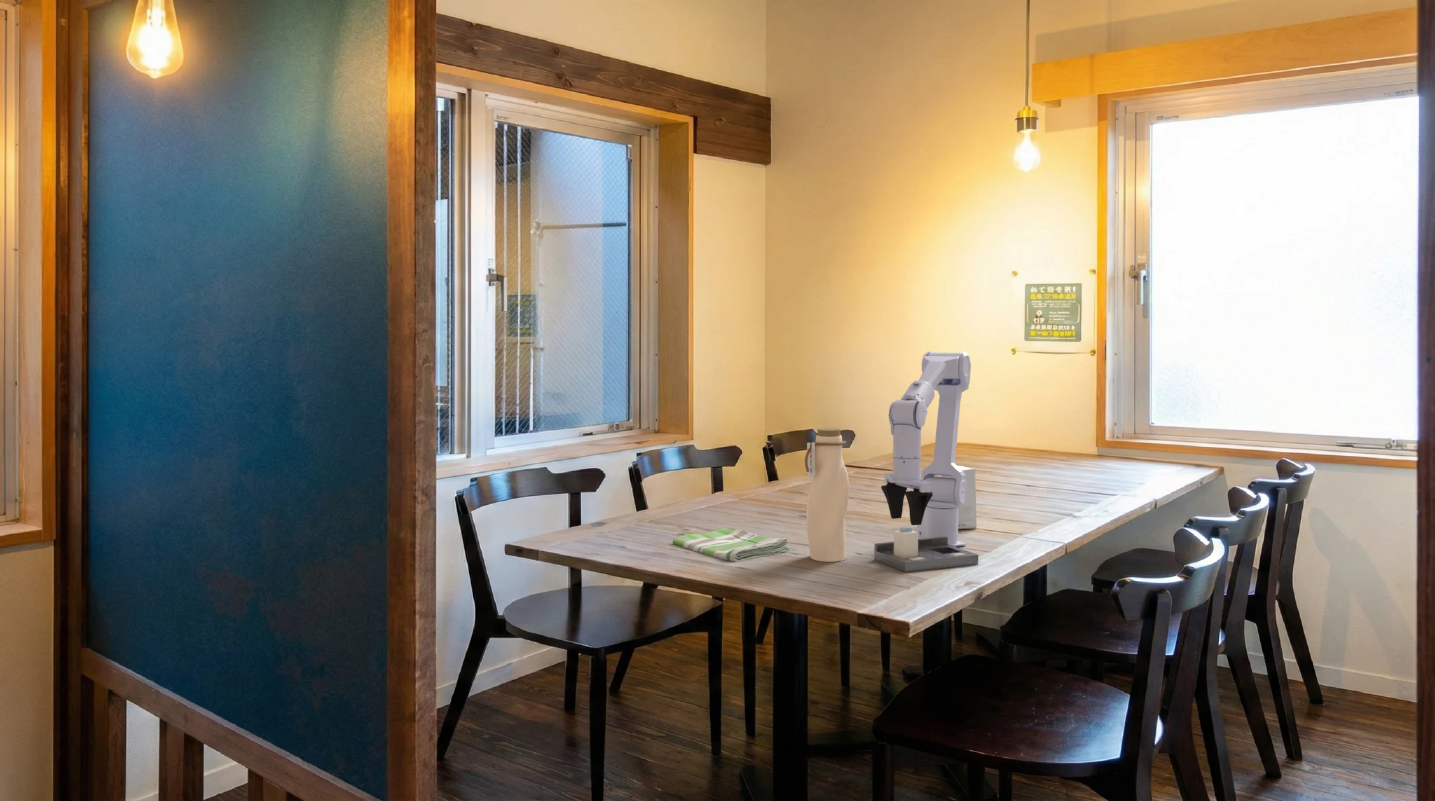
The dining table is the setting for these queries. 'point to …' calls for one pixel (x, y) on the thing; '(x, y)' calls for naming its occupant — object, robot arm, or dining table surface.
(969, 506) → the skincare box
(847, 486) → the water bottle
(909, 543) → the plug
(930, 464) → the robot arm
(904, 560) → the port panel
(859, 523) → the dining table surface
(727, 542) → the dish towel
